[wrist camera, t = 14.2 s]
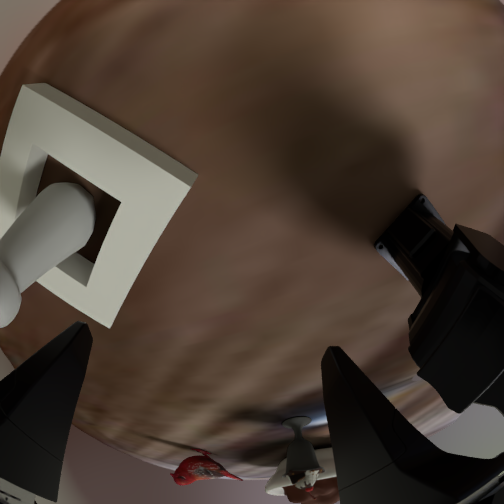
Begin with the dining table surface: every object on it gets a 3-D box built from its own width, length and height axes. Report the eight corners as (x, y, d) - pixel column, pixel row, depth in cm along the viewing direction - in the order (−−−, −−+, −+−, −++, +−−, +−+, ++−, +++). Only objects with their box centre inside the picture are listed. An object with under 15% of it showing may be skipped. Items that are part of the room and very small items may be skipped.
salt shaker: (47, 219, 20) (-42, 309, 9) (59, 163, 18) (-58, 239, 6) (96, 247, 22) (19, 359, 10) (113, 192, 19) (8, 297, 8)
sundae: (311, 427, 41) (322, 499, 28) (274, 429, 41) (280, 504, 28) (321, 412, 38) (335, 494, 25) (280, 415, 38) (288, 500, 25)
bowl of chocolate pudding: (321, 466, 60) (327, 508, 47) (245, 463, 54) (246, 513, 41) (385, 433, 49) (398, 484, 36) (304, 433, 43) (313, 502, 30)
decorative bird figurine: (176, 440, 45) (171, 482, 36) (246, 457, 50) (247, 493, 42) (170, 443, 46) (166, 483, 37) (239, 459, 51) (239, 495, 43)
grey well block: (198, 174, 19) (191, 187, 16) (119, 307, 25) (109, 328, 23) (45, 82, 14) (22, 84, 11) (6, 229, 20) (-11, 242, 18)
